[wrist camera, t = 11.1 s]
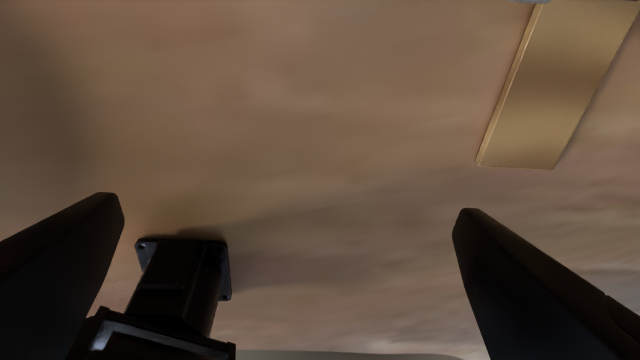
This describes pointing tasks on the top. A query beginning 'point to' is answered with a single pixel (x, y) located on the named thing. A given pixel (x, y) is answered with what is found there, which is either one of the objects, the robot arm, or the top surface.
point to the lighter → (532, 1)
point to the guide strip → (554, 80)
